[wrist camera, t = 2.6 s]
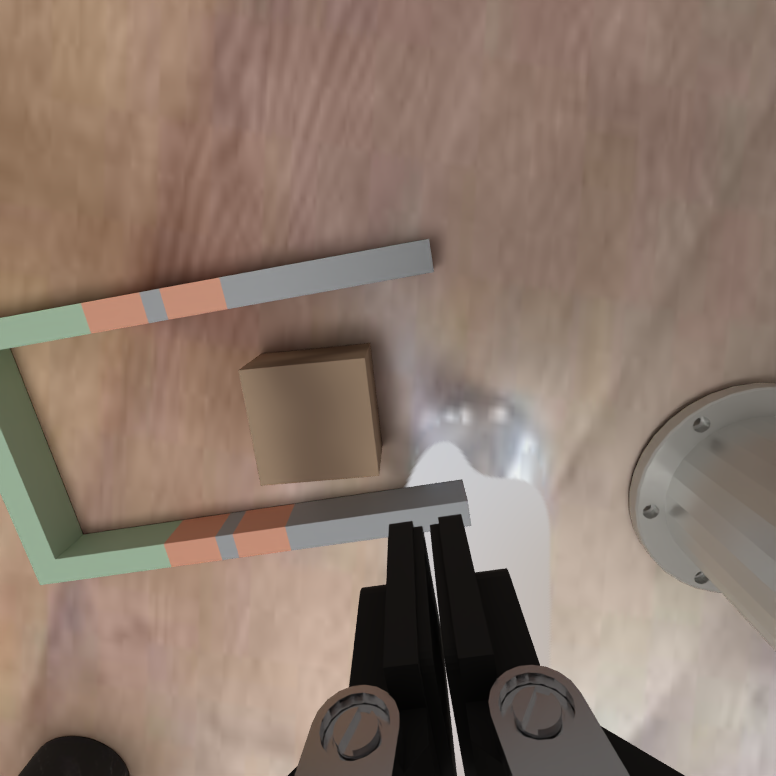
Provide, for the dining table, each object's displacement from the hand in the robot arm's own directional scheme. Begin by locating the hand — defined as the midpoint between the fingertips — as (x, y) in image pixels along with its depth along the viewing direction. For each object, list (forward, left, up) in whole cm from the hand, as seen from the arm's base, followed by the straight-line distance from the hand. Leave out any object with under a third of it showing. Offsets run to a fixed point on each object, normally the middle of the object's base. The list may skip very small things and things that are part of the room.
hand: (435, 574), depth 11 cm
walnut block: (+5, 0, -17) cm, 17 cm away
